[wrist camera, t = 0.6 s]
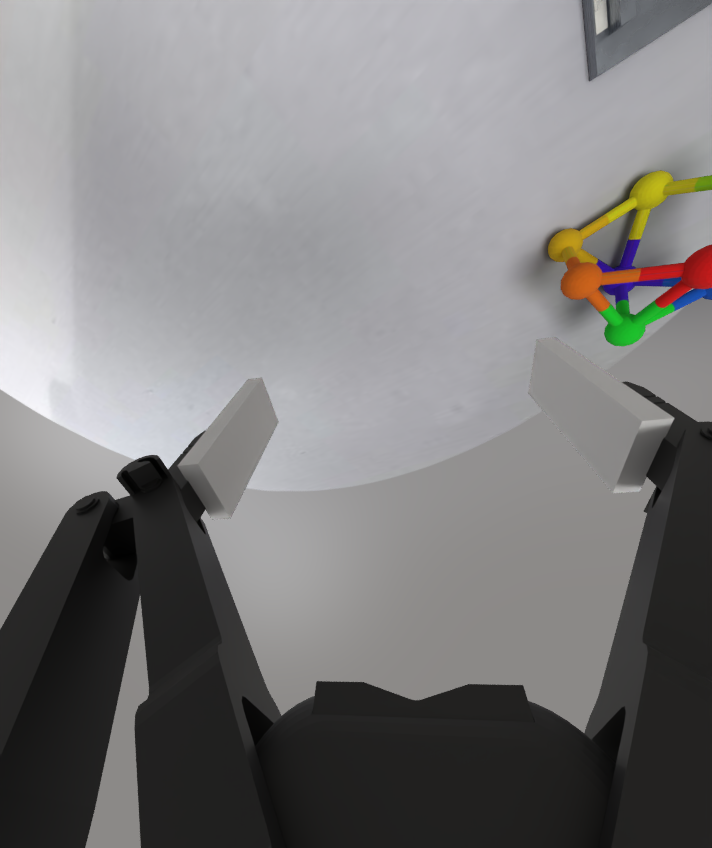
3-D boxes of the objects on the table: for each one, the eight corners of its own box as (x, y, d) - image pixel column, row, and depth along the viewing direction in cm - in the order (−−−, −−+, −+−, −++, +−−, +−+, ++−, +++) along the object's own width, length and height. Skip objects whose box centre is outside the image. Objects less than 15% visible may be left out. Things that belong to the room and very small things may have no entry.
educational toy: (573, 333, 40) (642, 394, 28) (520, 256, 36) (575, 291, 24) (728, 232, 32) (914, 260, 20) (684, 116, 27) (891, 67, 16)
